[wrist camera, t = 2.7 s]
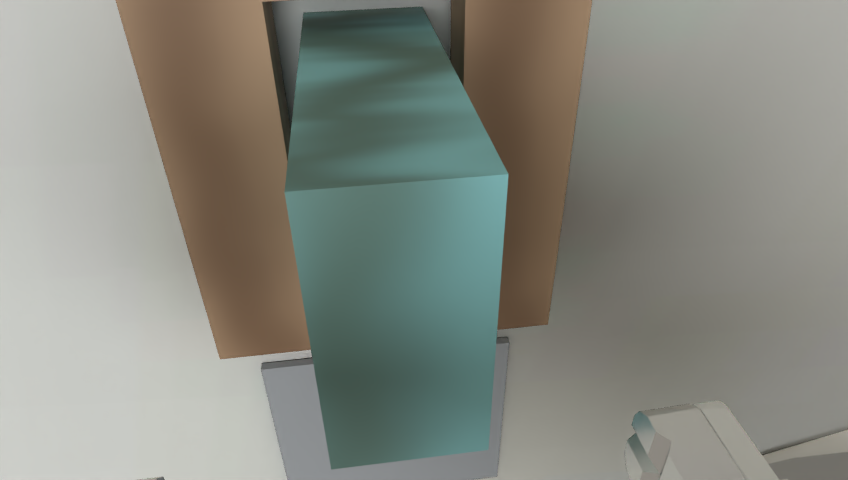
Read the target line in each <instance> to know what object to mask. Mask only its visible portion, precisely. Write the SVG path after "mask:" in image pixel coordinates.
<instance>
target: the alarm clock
mask: <svg viewBox="0 0 848 480" xmlns="http://www.w3.org/2000/svg"><path fill="white" fill-rule="evenodd" d="M762 456H763V457H764V459H765V460H766V462H767V463H768V464H769V466H770V467H771V469H772V470H773V471H774V473H775V474H776V476H777V477H778V478H779V480H782V479H788V480H848V430H845V431H842V432H838V433H835V434H832V435H828V436H825V437H822V438H818V439H815V440H812V441H808V442H805V443H802V444H798V445H795V446H792V447H788V448H785V449H782V450H778V451H775V452H772V453H769V454H765V455H762Z"/></svg>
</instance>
